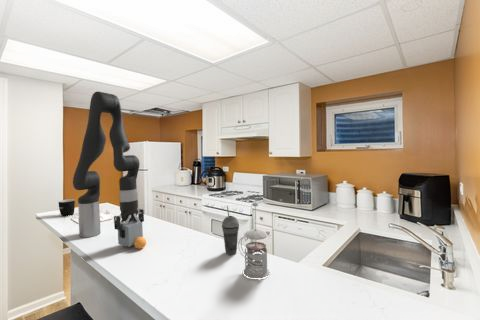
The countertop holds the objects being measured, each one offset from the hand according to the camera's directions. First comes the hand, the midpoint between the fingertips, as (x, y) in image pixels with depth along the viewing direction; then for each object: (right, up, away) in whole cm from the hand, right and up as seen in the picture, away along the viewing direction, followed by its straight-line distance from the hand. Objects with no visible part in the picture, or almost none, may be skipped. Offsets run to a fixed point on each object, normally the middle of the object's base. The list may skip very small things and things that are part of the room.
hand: (130, 234), depth 110 cm
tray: (-47, -5, +48) cm, 67 cm away
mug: (-67, -4, +54) cm, 87 cm away
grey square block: (0, -4, 0) cm, 4 cm away
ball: (+6, -3, -3) cm, 7 cm away
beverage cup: (+46, -5, -9) cm, 48 cm away
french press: (+55, -6, -25) cm, 61 cm away
